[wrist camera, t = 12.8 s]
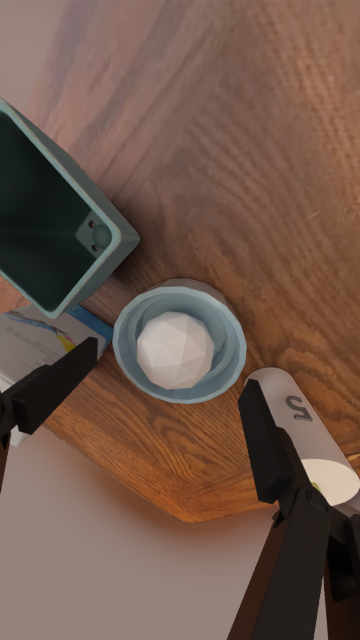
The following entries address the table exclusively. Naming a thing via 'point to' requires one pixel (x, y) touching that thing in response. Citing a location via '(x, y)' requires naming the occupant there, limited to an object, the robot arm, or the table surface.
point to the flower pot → (53, 220)
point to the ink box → (43, 343)
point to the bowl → (197, 304)
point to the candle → (308, 436)
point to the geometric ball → (175, 350)
